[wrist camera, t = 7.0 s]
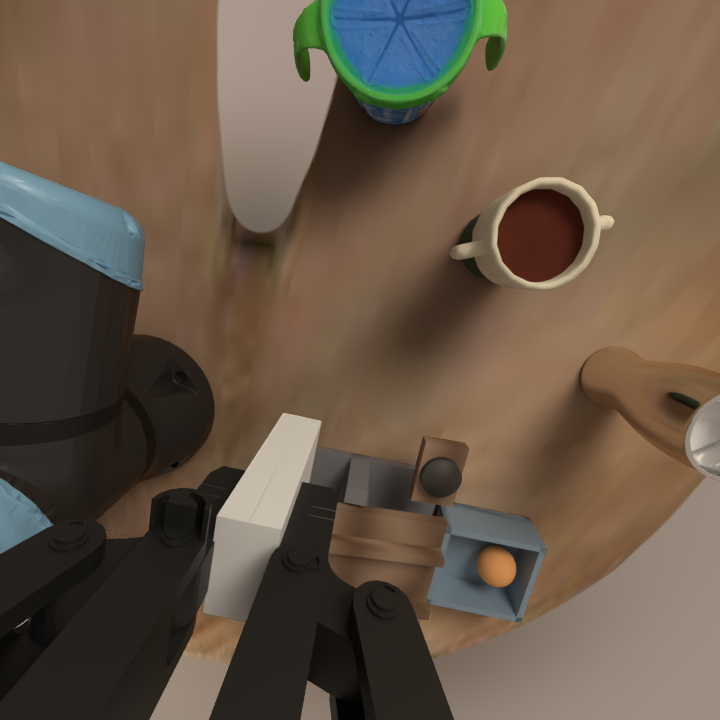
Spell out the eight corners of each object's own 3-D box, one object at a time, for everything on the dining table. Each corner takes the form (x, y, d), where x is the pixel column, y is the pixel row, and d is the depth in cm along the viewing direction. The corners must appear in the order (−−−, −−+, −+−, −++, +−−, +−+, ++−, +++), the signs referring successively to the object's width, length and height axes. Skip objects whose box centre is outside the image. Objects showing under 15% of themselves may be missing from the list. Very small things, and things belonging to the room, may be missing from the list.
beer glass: (624, 418, 42) (754, 499, 27) (562, 393, 42) (661, 462, 27) (660, 357, 40) (819, 409, 26) (597, 331, 40) (721, 368, 25)
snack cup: (304, 139, 37) (277, 94, 27) (310, 6, 35) (283, -97, 25) (474, 152, 37) (509, 110, 27) (492, 17, 34) (538, -83, 25)
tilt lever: (246, 580, 42) (232, 628, 37) (273, 403, 38) (262, 427, 32) (413, 601, 44) (423, 649, 39) (458, 433, 39) (478, 461, 34)
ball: (496, 567, 46) (465, 567, 45) (506, 537, 45) (475, 537, 44) (517, 595, 42) (484, 597, 41) (529, 563, 41) (495, 564, 40)
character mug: (440, 293, 40) (467, 306, 27) (429, 218, 38) (452, 195, 26) (553, 271, 39) (636, 274, 26) (546, 194, 37) (631, 157, 25)
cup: (420, 568, 47) (424, 603, 42) (439, 499, 45) (446, 527, 40) (506, 586, 47) (520, 622, 42) (529, 517, 45) (547, 548, 40)
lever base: (260, 561, 48) (240, 610, 41) (280, 438, 44) (262, 469, 37) (409, 591, 48) (414, 645, 41) (441, 471, 44) (453, 508, 37)
